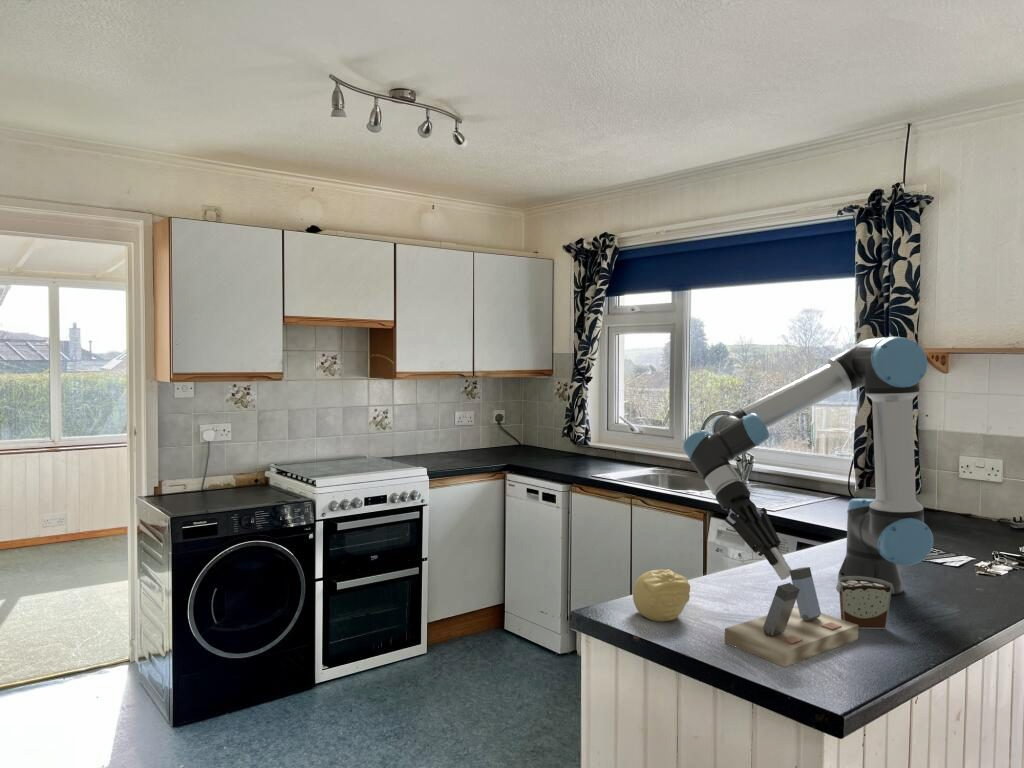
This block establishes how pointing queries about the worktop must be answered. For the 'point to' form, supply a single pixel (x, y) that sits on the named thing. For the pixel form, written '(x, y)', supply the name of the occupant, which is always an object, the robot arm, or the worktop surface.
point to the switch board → (792, 637)
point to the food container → (864, 601)
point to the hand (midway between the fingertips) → (787, 576)
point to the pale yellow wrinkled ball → (661, 594)
